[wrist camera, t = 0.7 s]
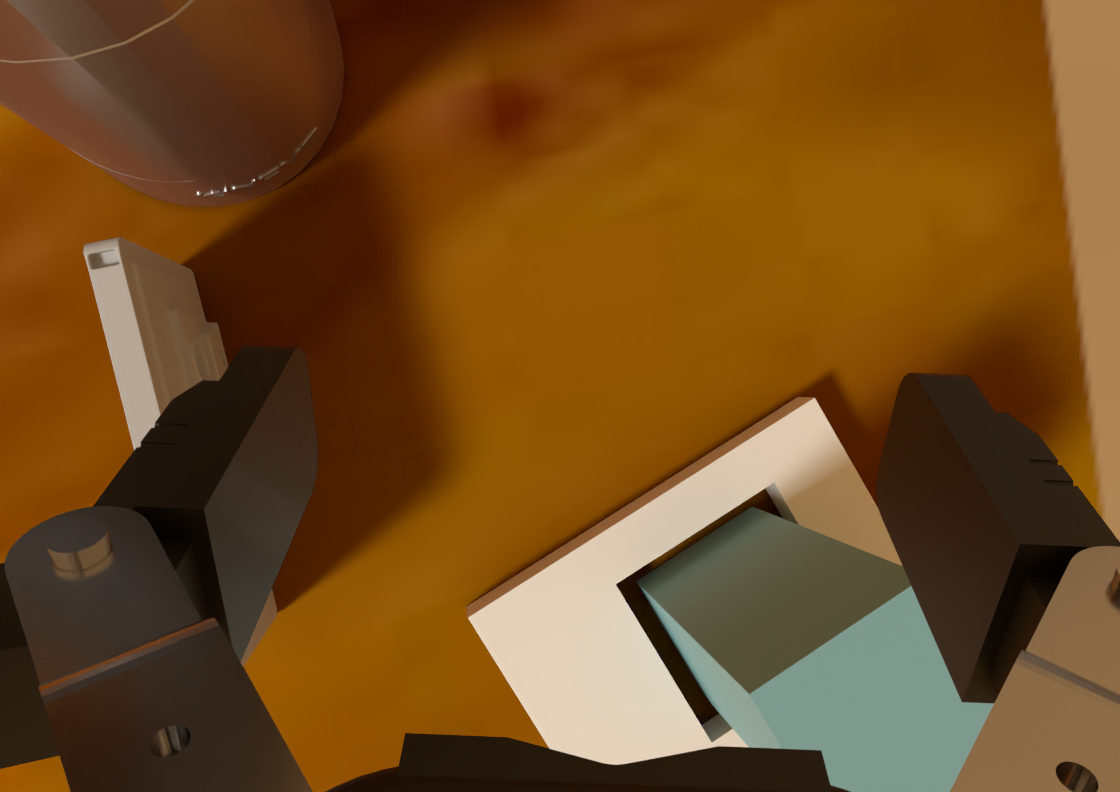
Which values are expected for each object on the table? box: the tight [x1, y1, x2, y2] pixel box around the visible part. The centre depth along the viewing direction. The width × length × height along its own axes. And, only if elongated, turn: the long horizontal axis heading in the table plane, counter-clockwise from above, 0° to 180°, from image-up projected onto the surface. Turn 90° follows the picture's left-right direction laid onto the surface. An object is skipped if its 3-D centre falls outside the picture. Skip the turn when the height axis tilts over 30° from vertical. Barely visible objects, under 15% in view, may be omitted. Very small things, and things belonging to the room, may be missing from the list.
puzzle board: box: [466, 397, 902, 765], centre depth 33 cm, size 20×14×2 cm
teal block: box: [636, 507, 994, 792], centre depth 28 cm, size 5×5×12 cm
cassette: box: [84, 237, 277, 666], centre depth 27 cm, size 12×2×8 cm, turn 13°
